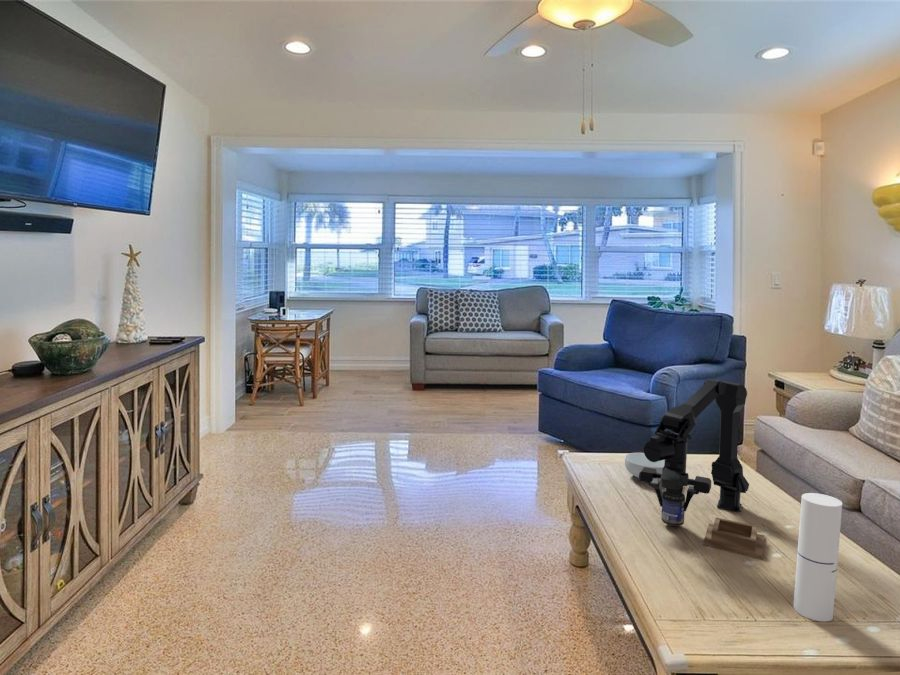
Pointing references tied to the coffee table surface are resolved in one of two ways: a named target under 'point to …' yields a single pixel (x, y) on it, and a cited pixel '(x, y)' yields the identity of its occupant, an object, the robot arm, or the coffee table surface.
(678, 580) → the coffee table surface
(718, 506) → the robot arm
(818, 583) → the cylindrical container
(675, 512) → the pill bottle
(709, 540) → the walnut holder
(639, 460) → the cereal bowl
